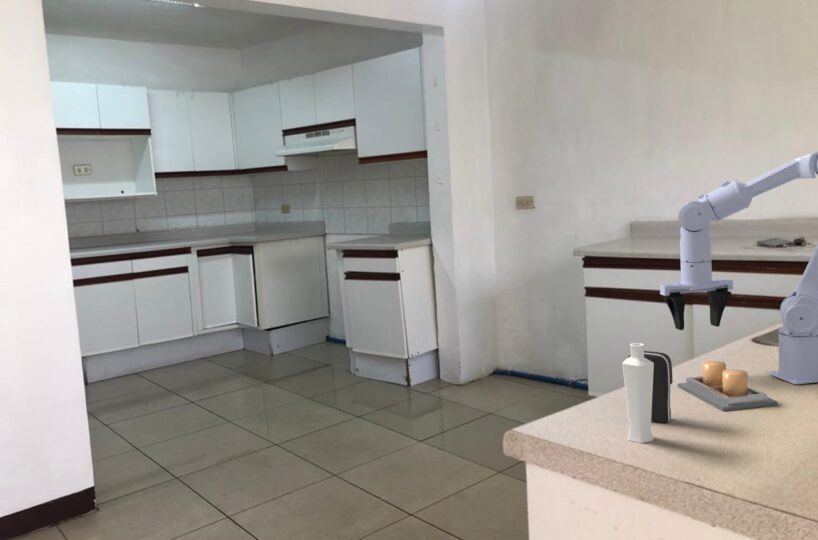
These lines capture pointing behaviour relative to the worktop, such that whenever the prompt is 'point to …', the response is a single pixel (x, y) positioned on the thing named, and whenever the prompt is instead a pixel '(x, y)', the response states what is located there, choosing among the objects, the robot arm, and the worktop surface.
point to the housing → (728, 392)
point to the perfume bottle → (638, 393)
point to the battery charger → (660, 385)
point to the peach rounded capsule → (713, 373)
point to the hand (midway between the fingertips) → (697, 327)
